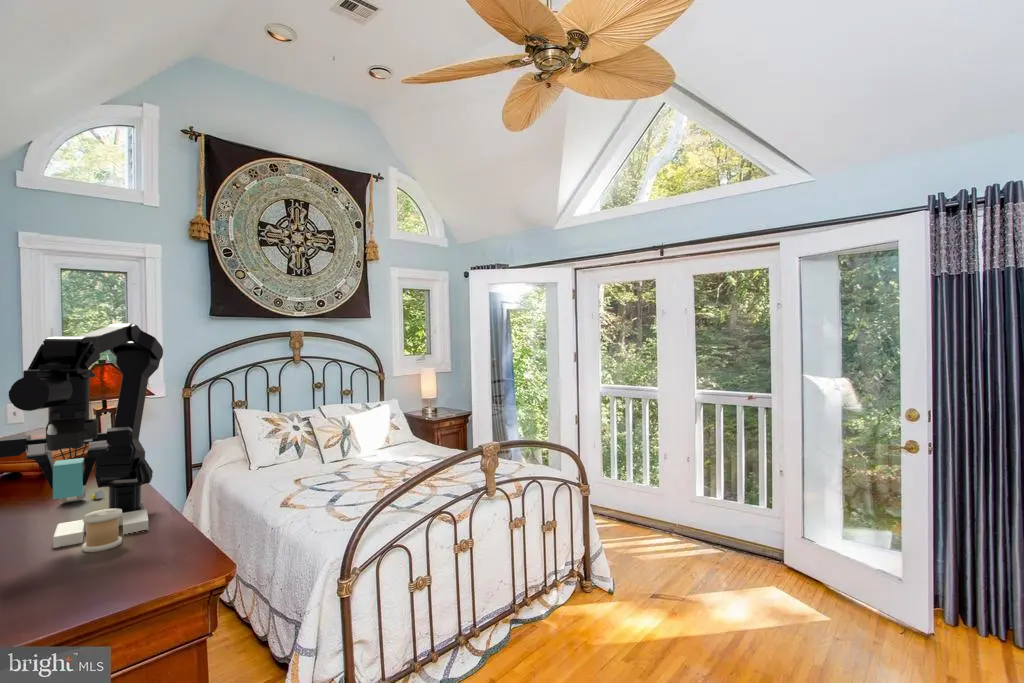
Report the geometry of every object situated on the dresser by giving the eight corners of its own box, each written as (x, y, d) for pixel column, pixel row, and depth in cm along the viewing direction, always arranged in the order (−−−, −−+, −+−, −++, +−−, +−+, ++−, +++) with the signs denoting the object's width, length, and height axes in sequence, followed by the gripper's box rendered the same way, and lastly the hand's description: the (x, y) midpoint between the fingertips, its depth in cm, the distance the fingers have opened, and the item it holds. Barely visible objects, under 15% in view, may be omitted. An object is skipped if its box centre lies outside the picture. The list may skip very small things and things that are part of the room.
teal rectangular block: (55, 492, 92) (55, 460, 92) (84, 488, 95) (84, 457, 95) (52, 499, 88) (52, 466, 88) (82, 495, 91) (82, 462, 91)
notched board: (58, 533, 97) (58, 523, 97) (146, 518, 106) (146, 509, 106) (53, 548, 90) (53, 537, 90) (148, 530, 99) (148, 520, 99)
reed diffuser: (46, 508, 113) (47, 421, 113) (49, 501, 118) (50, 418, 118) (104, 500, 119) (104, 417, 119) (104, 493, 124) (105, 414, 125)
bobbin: (83, 545, 91) (83, 512, 91) (121, 537, 95) (122, 506, 95) (81, 554, 87) (81, 520, 87) (121, 546, 90) (122, 513, 91)
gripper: (-13, 413, 80) (-13, 509, 80) (132, 404, 91) (132, 488, 91) (1, 406, 88) (1, 492, 88) (132, 398, 100) (132, 475, 100)
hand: (69, 487), depth 92 cm, fingers closed on teal rectangular block, 4 cm apart
